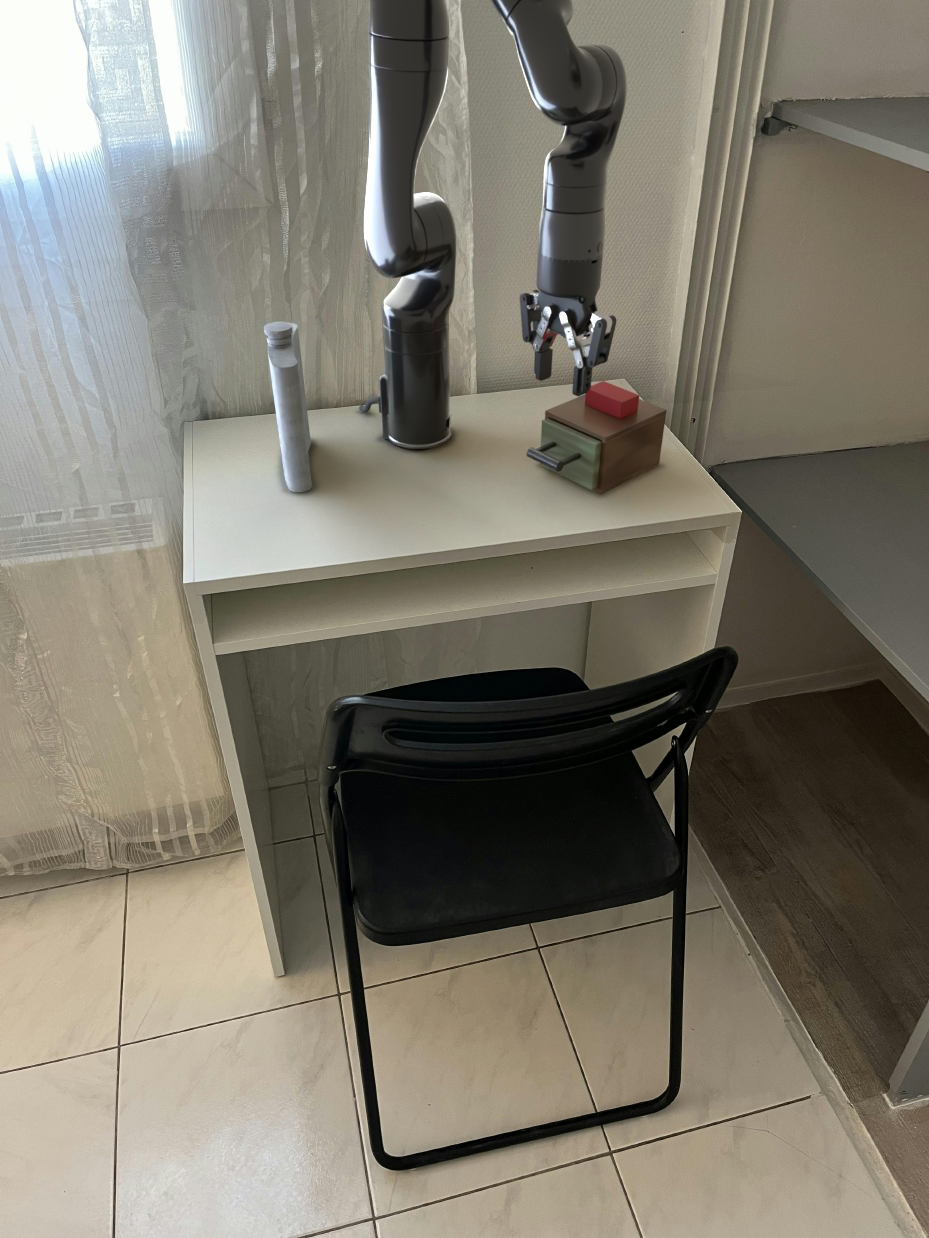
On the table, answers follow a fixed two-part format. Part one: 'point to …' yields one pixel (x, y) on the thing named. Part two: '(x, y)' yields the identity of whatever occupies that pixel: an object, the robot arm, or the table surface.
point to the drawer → (568, 453)
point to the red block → (612, 400)
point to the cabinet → (617, 438)
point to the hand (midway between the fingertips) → (561, 385)
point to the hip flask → (290, 403)
